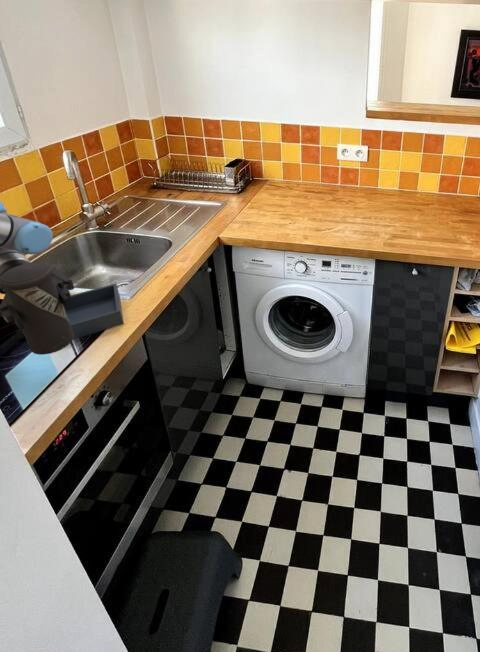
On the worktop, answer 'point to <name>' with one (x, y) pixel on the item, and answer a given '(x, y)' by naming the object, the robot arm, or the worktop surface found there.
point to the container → (38, 307)
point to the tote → (95, 310)
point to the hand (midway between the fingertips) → (45, 313)
